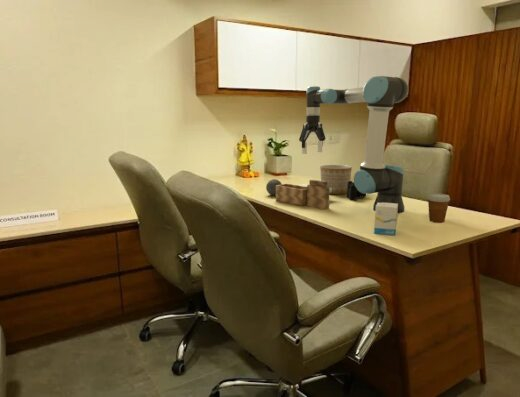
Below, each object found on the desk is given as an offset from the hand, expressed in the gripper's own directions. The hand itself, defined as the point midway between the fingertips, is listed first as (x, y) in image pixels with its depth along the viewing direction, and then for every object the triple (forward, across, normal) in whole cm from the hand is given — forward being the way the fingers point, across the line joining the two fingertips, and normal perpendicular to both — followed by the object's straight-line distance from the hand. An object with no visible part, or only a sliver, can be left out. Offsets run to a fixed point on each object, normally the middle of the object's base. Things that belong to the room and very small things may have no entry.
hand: (312, 153), depth 226 cm
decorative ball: (+27, +9, -22) cm, 36 cm away
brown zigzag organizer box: (+27, +15, +7) cm, 31 cm away
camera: (+27, -20, +18) cm, 38 cm away
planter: (+27, -25, -2) cm, 37 cm away
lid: (+22, 0, 0) cm, 22 cm away
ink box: (+27, +30, +66) cm, 77 cm away
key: (+15, +15, +17) cm, 27 cm away
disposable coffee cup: (+27, -2, +73) cm, 78 cm away
